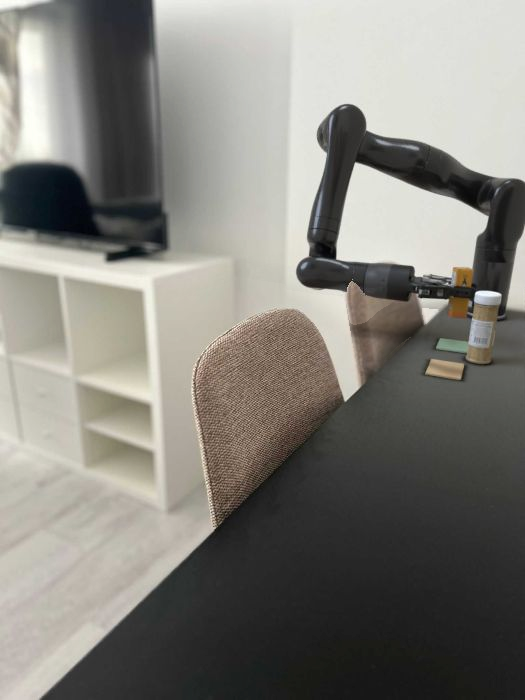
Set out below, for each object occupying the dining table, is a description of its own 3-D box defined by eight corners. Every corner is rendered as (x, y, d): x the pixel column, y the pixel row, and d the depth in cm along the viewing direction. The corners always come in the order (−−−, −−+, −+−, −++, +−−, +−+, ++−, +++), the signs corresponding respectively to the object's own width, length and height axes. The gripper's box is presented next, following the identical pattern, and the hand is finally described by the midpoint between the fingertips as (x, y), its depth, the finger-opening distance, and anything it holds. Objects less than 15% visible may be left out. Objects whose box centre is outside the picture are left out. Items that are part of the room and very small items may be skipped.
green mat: (439, 339, 111) (440, 337, 111) (469, 343, 109) (469, 341, 109) (436, 349, 105) (436, 347, 105) (467, 353, 103) (467, 351, 103)
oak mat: (431, 360, 99) (431, 358, 99) (464, 365, 96) (464, 363, 96) (425, 374, 92) (425, 372, 92) (460, 380, 90) (461, 378, 89)
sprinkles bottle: (494, 361, 99) (506, 293, 95) (484, 366, 96) (495, 296, 92) (471, 355, 102) (481, 288, 98) (460, 360, 99) (471, 292, 95)
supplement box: (462, 314, 106) (470, 266, 103) (466, 319, 103) (474, 269, 100) (445, 313, 107) (453, 265, 103) (449, 318, 104) (457, 269, 100)
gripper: (383, 269, 101) (476, 278, 95) (397, 259, 113) (480, 266, 107) (379, 306, 104) (470, 317, 97) (393, 292, 116) (474, 301, 109)
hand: (475, 291), depth 102 cm, fingers closed on supplement box, 3 cm apart
